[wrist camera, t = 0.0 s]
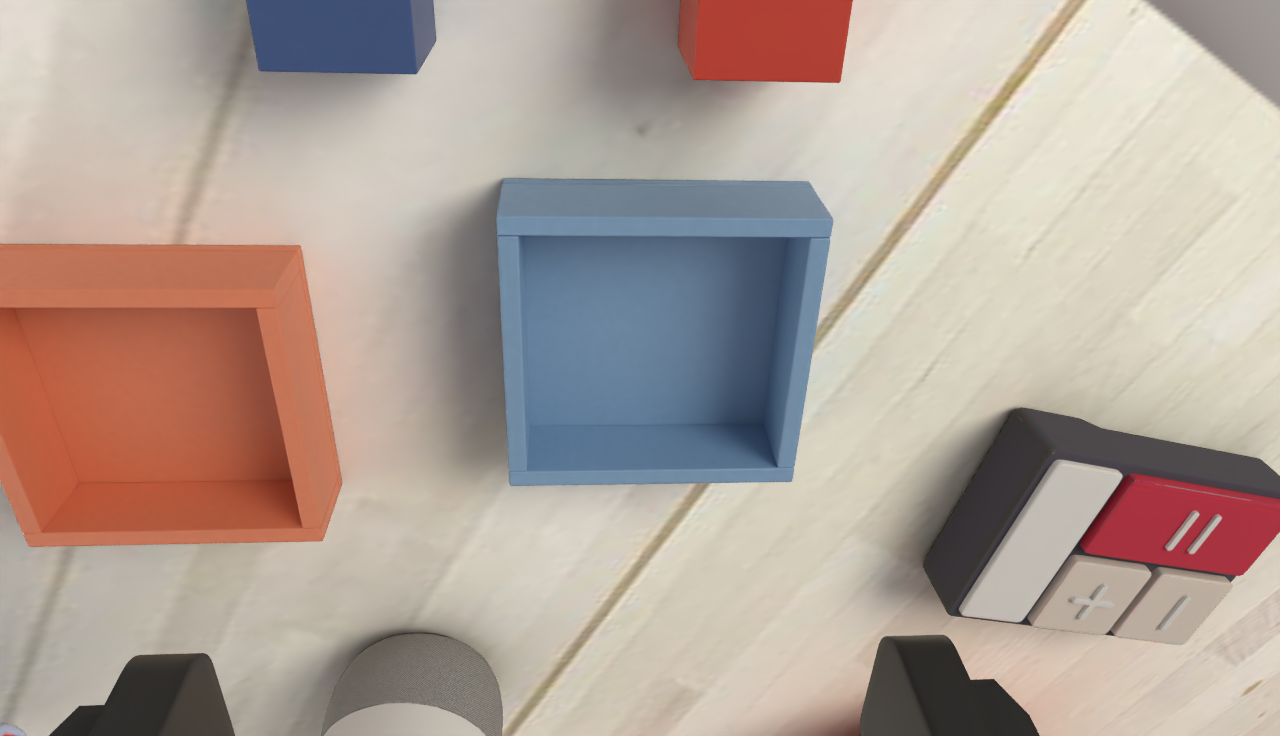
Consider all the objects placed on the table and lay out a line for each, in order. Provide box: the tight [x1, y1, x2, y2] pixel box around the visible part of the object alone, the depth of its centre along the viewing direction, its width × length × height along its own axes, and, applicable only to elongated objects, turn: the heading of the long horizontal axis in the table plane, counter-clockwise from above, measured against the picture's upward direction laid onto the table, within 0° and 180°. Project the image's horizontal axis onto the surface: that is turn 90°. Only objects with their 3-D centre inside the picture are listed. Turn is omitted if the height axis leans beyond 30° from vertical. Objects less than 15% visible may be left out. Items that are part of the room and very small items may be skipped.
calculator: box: [923, 408, 1280, 645], centre depth 46 cm, size 11×4×15 cm
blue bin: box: [496, 178, 833, 486], centre depth 38 cm, size 13×13×4 cm
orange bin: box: [0, 244, 342, 547], centre depth 38 cm, size 13×13×4 cm
